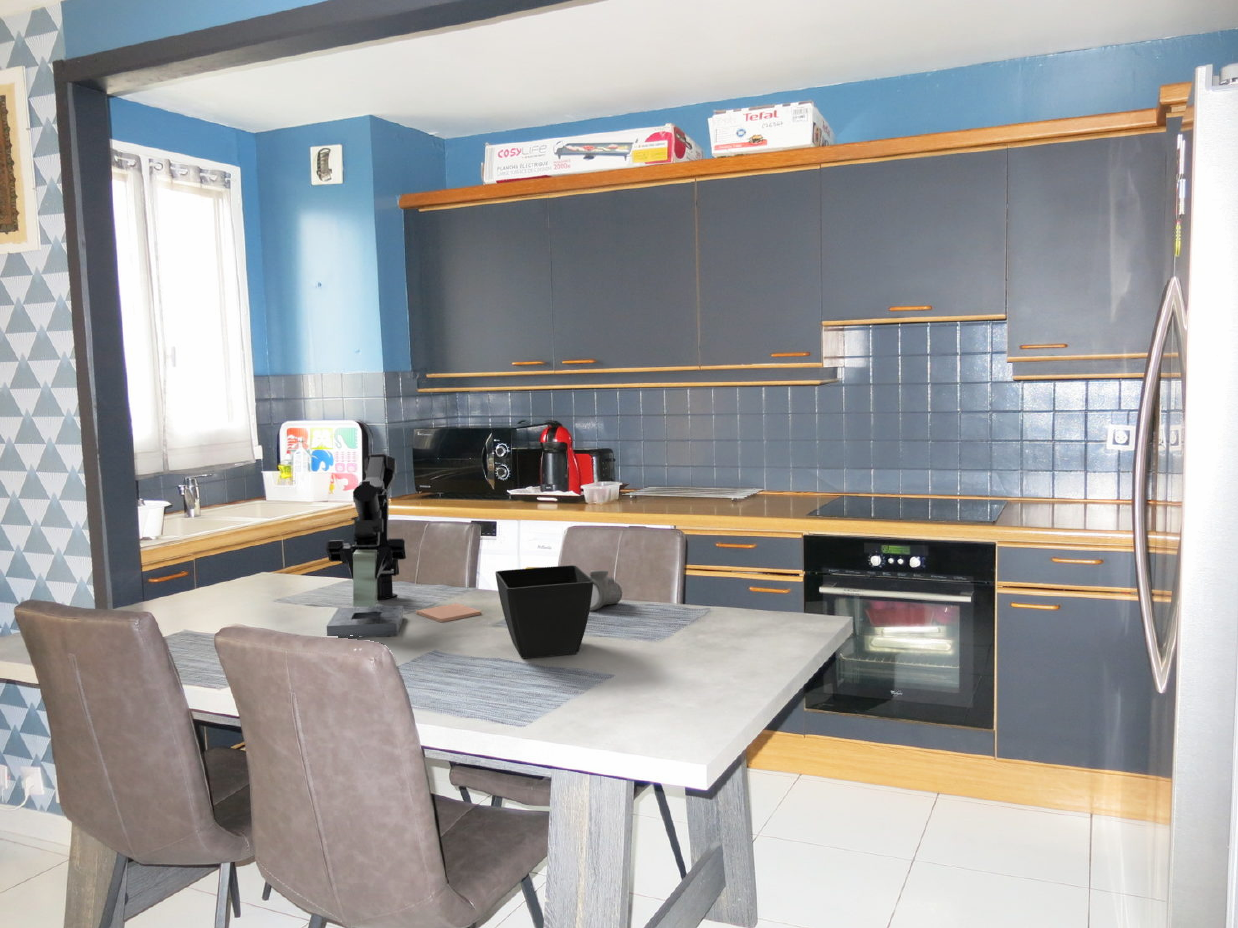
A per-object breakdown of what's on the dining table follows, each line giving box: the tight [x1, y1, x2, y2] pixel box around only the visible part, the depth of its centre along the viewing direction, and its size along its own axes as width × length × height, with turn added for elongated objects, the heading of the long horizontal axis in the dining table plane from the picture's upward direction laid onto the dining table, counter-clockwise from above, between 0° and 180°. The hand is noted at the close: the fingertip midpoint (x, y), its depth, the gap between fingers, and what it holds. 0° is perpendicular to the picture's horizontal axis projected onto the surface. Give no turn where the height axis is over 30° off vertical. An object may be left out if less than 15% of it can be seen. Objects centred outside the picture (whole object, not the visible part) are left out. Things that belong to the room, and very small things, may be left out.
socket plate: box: [326, 605, 404, 639], centre depth 237 cm, size 18×16×3 cm
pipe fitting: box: [588, 569, 623, 612], centre depth 257 cm, size 12×8×10 cm
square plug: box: [352, 550, 378, 608], centre depth 236 cm, size 5×5×13 cm
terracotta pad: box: [415, 603, 482, 623], centre depth 250 cm, size 12×12×1 cm
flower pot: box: [495, 564, 593, 659], centre depth 216 cm, size 19×19×17 cm
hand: (364, 578), depth 235 cm, fingers closed on square plug, 5 cm apart
